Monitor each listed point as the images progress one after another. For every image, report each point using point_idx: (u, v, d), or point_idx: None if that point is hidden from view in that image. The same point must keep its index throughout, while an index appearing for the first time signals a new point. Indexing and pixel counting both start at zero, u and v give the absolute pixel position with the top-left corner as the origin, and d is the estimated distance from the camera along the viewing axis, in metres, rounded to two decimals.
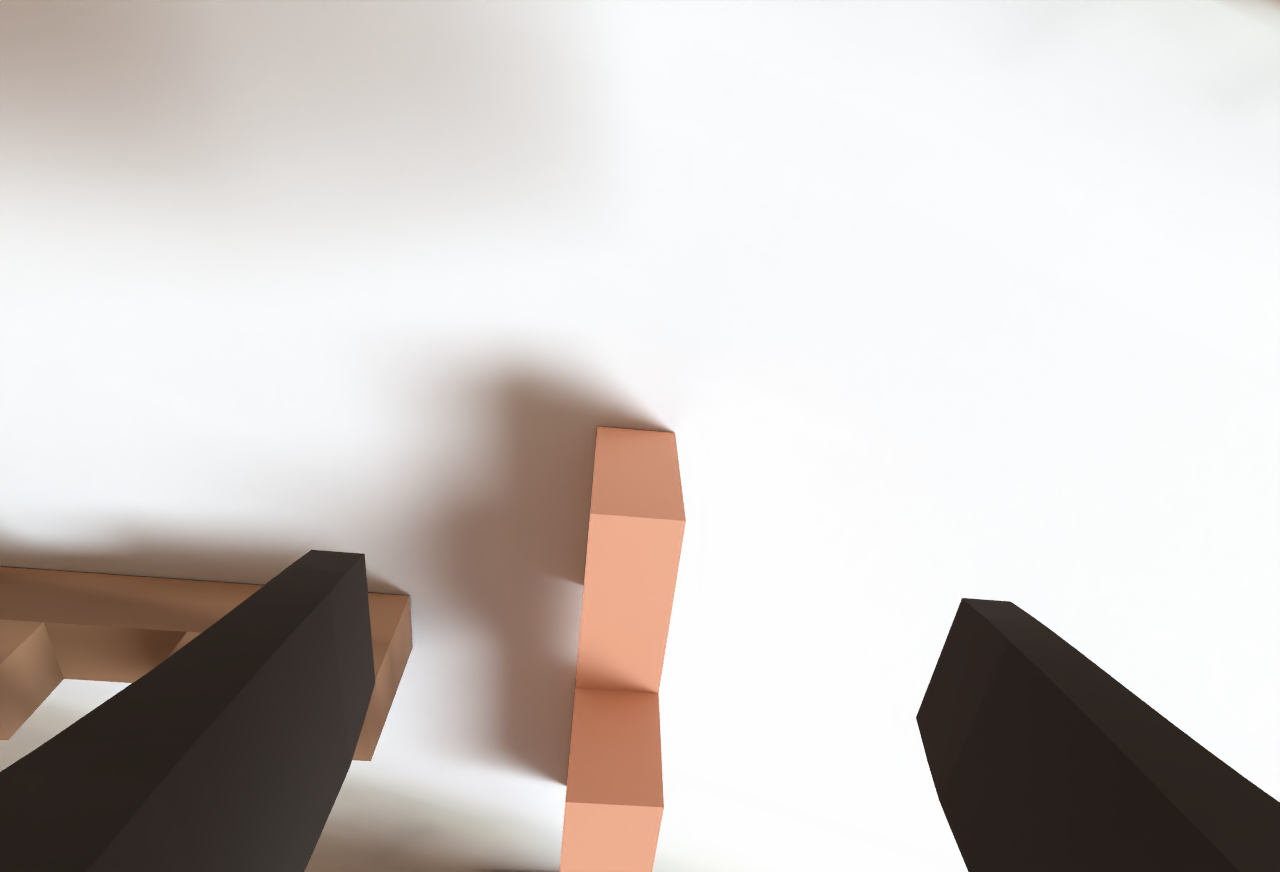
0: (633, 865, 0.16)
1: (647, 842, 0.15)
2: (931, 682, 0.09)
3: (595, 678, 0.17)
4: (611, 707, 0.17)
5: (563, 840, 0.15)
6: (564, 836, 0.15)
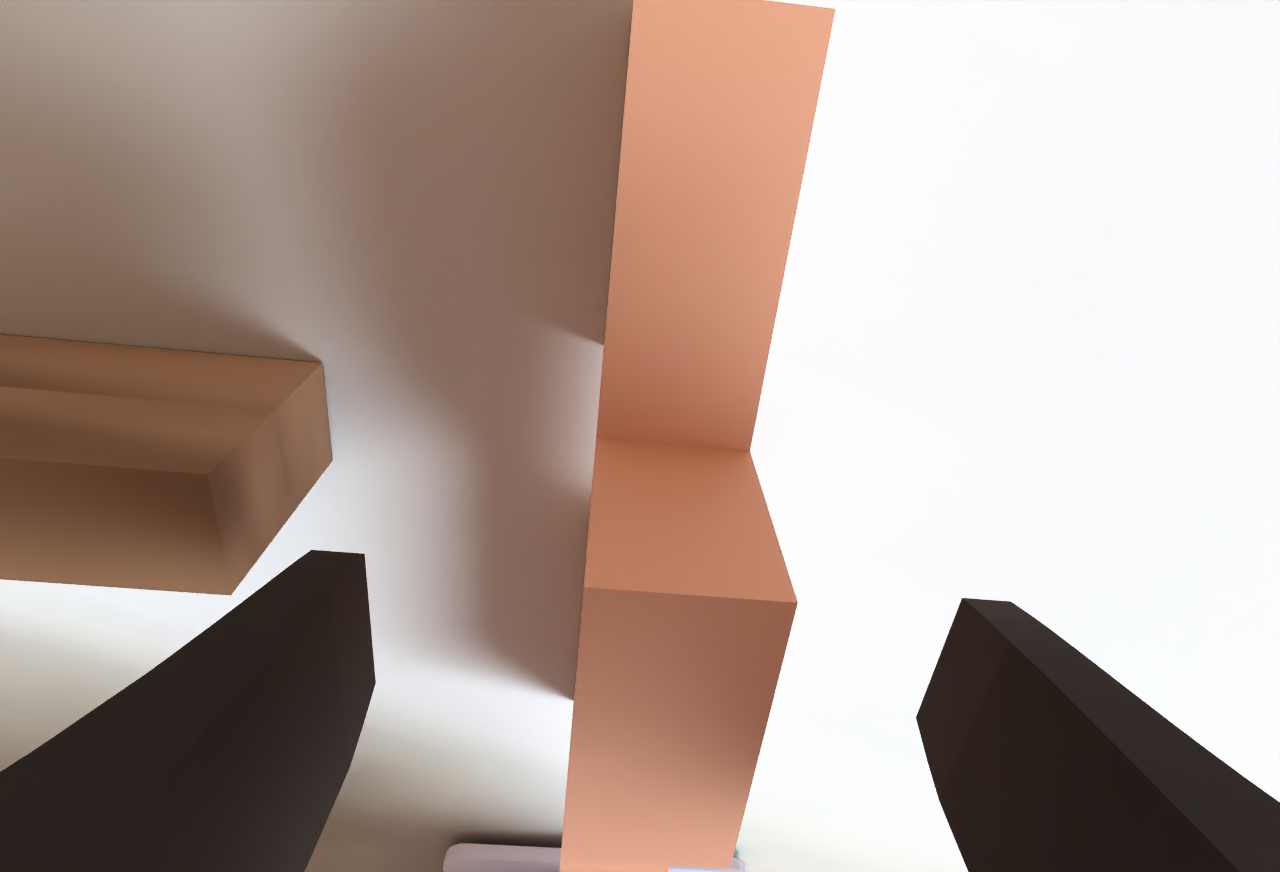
0: (720, 748, 0.08)
1: (754, 691, 0.07)
2: (931, 682, 0.09)
3: (633, 416, 0.09)
4: (666, 463, 0.09)
5: (577, 686, 0.07)
6: (579, 676, 0.07)
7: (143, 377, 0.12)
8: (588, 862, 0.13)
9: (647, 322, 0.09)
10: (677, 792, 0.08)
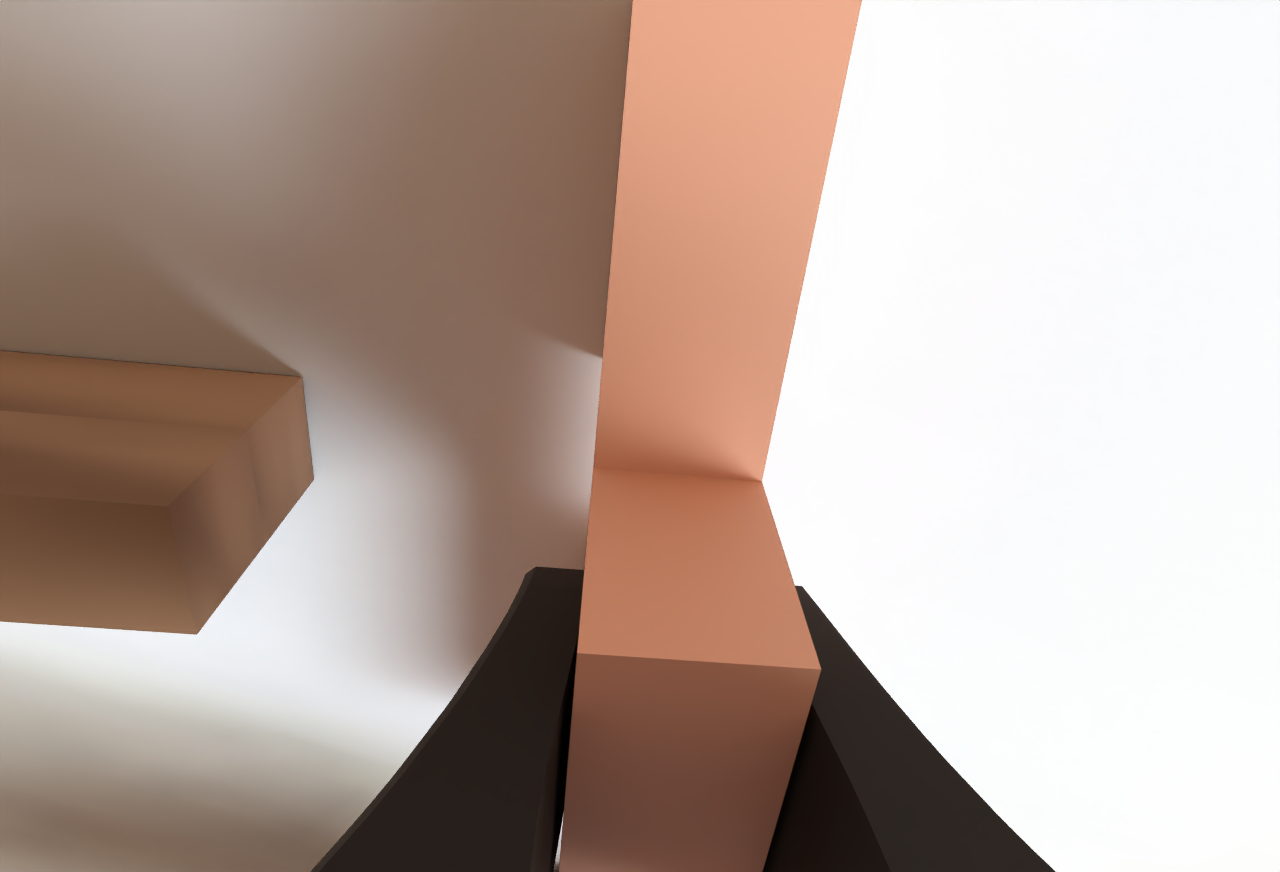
0: (732, 823, 0.07)
1: (770, 764, 0.06)
2: None
3: (634, 443, 0.08)
4: (670, 497, 0.08)
5: (571, 759, 0.06)
6: (573, 748, 0.06)
7: (106, 394, 0.11)
8: None
9: (649, 342, 0.08)
10: (683, 869, 0.07)
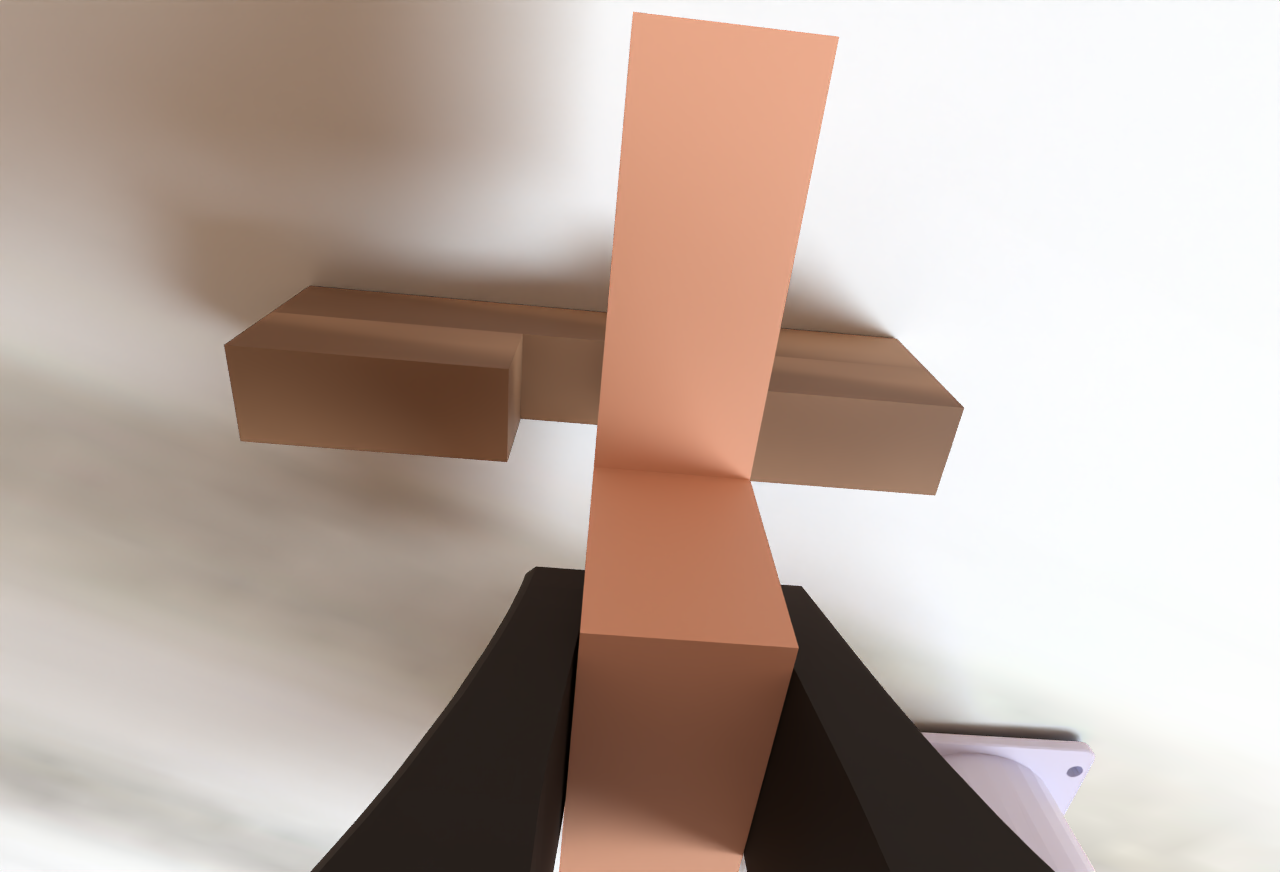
0: (720, 789, 0.08)
1: (754, 734, 0.07)
2: None
3: (631, 444, 0.09)
4: (664, 494, 0.09)
5: (574, 730, 0.07)
6: (576, 719, 0.07)
7: (811, 347, 0.16)
8: None
9: (646, 351, 0.08)
10: (676, 831, 0.08)
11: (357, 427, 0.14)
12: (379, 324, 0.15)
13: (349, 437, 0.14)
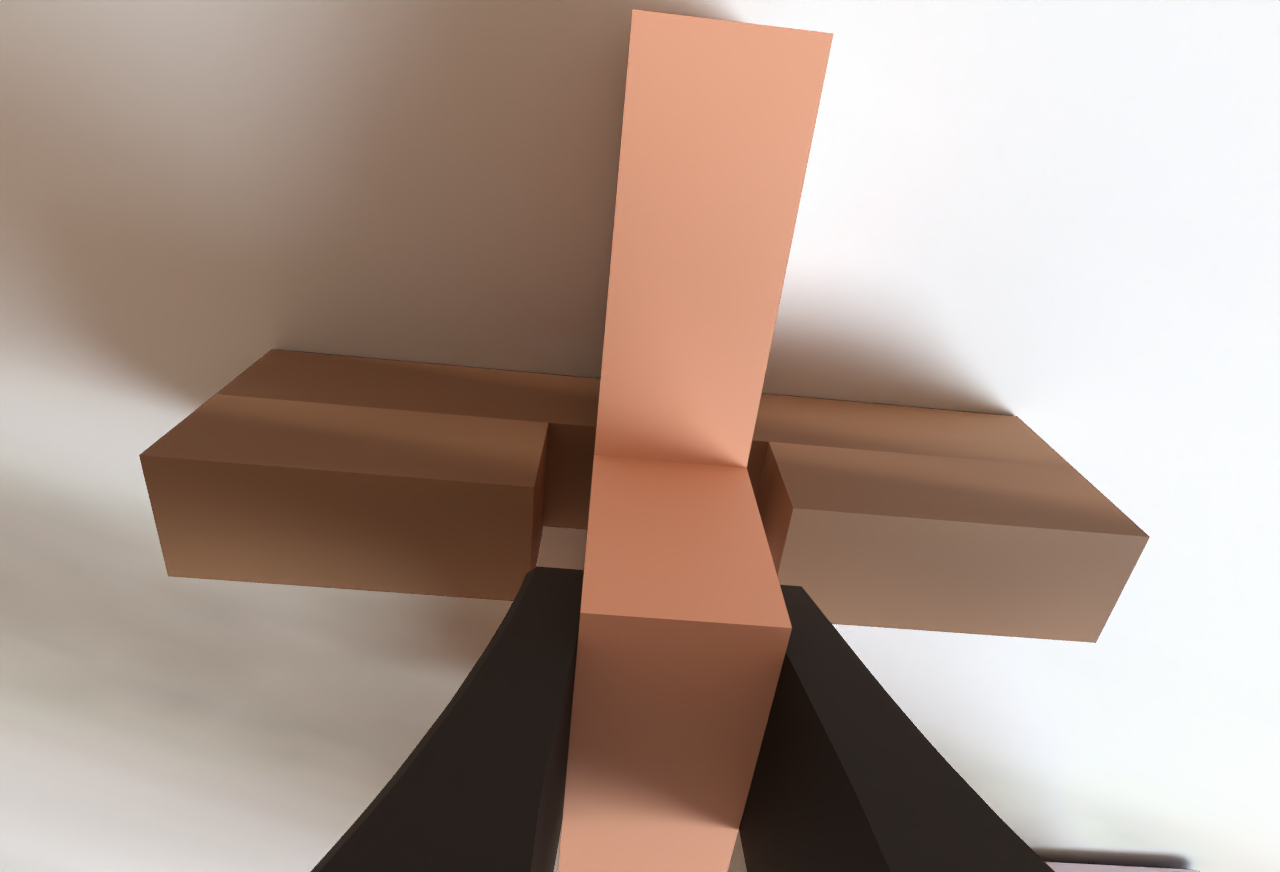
0: (715, 766, 0.08)
1: (749, 712, 0.07)
2: None
3: (631, 432, 0.09)
4: (664, 481, 0.09)
5: (574, 708, 0.07)
6: (576, 697, 0.07)
7: (918, 435, 0.13)
8: None
9: (645, 341, 0.09)
10: (674, 808, 0.08)
11: (326, 559, 0.10)
12: (358, 412, 0.11)
13: (315, 571, 0.10)
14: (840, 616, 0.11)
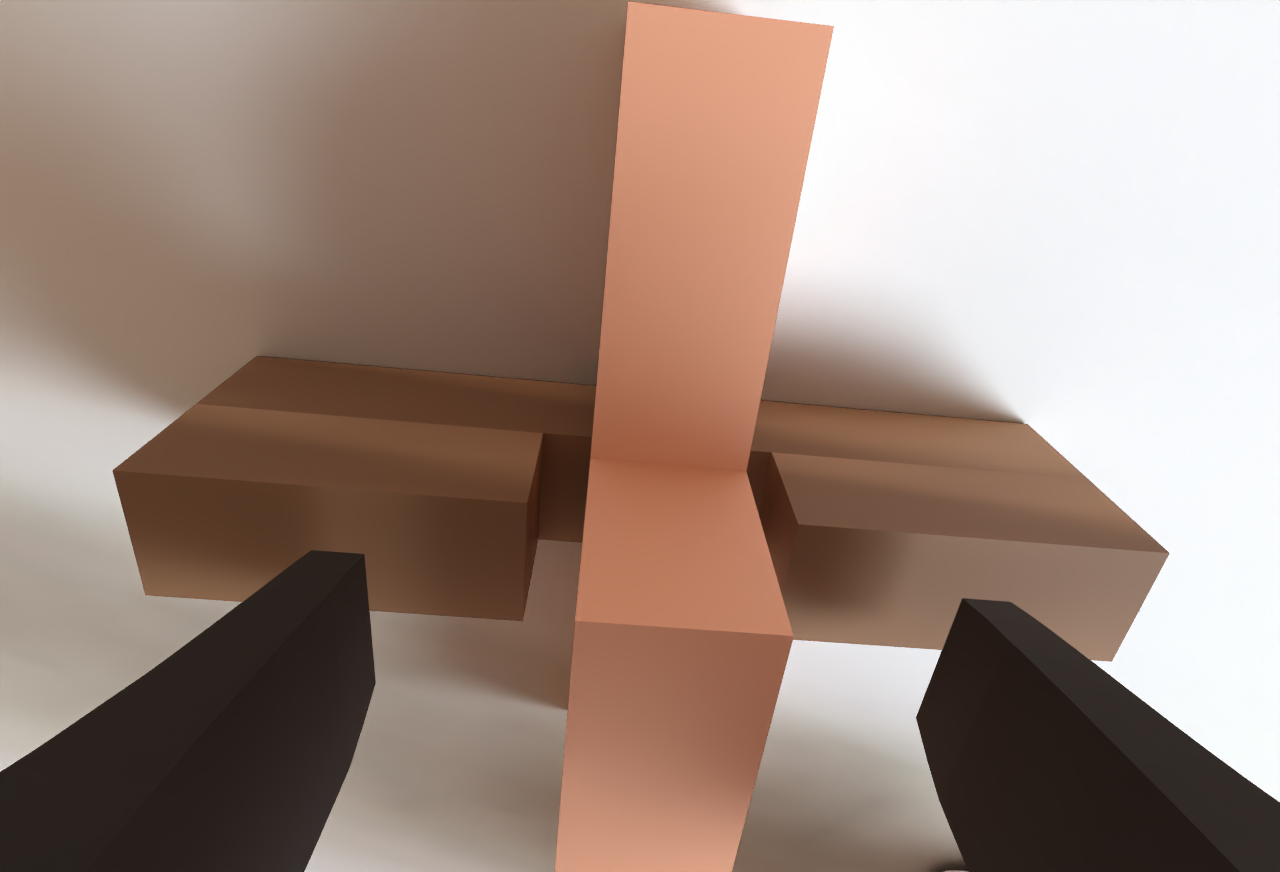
0: (715, 779, 0.08)
1: (749, 723, 0.07)
2: (931, 682, 0.09)
3: (628, 436, 0.09)
4: (661, 484, 0.09)
5: (569, 719, 0.07)
6: (571, 708, 0.07)
7: (926, 444, 0.12)
8: None
9: (642, 342, 0.09)
10: (672, 822, 0.08)
11: None
12: (345, 422, 0.11)
13: None
14: (846, 635, 0.11)
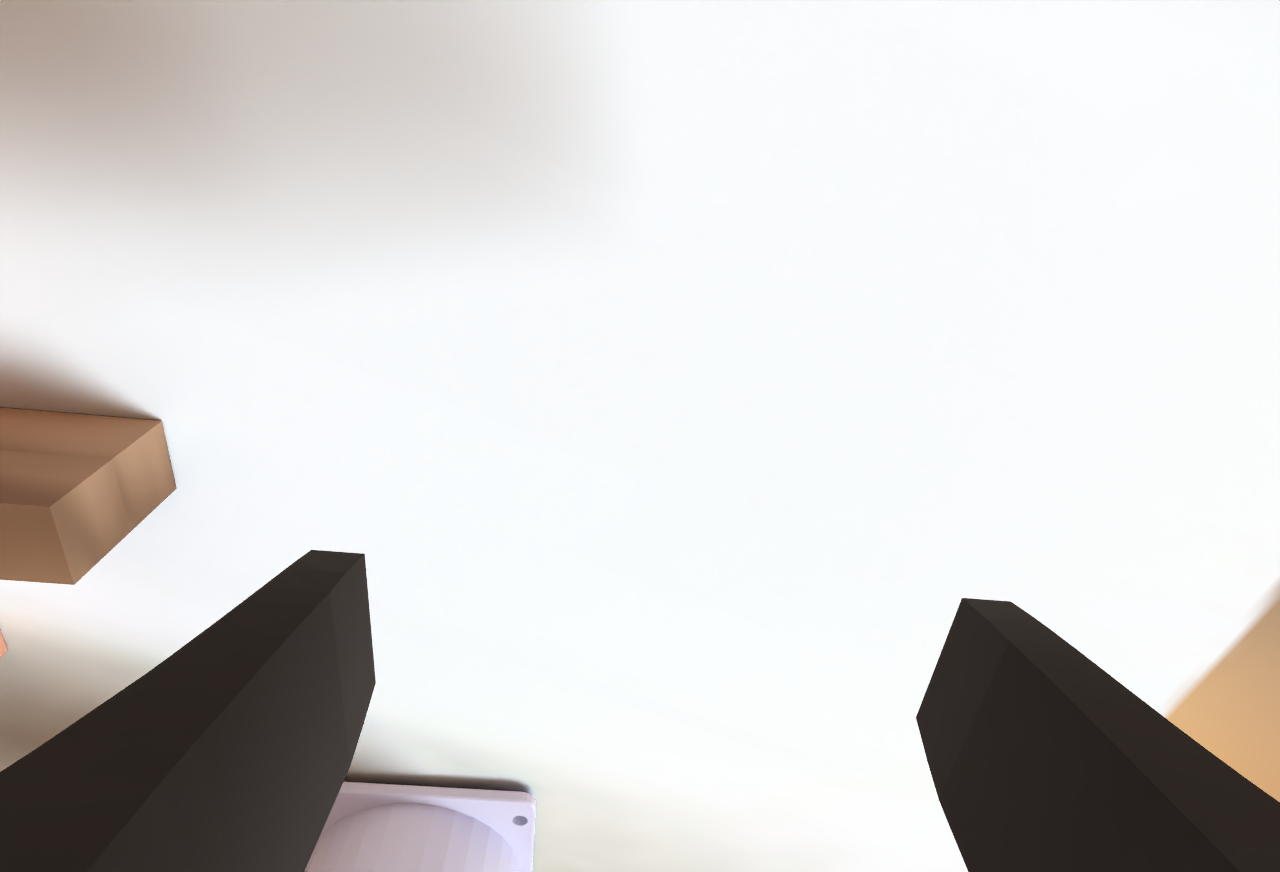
0: None
1: None
2: (931, 682, 0.09)
3: None
4: None
5: None
6: None
7: (26, 435, 0.17)
8: None
9: None
10: None
11: None
12: None
13: None
14: None
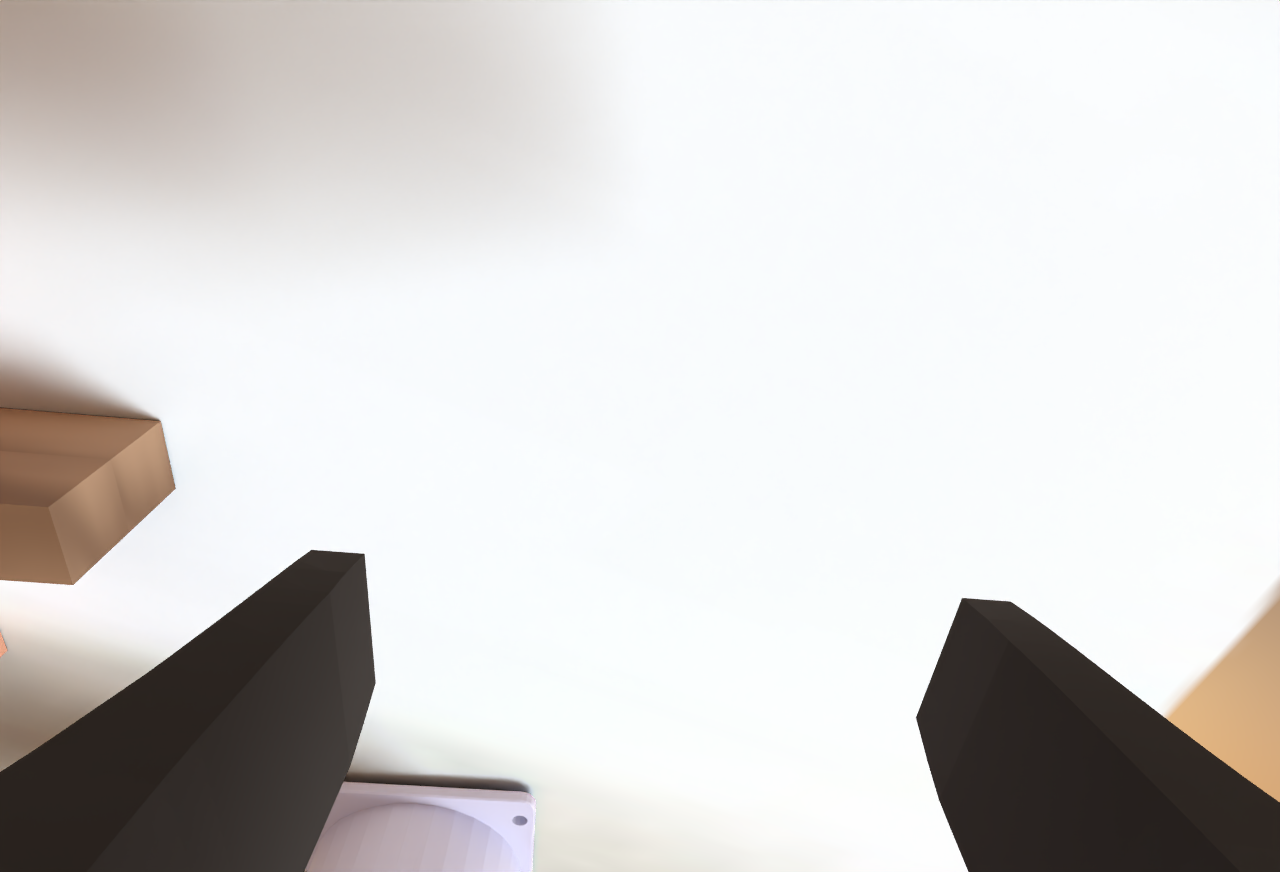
0: None
1: None
2: (931, 682, 0.09)
3: None
4: None
5: None
6: None
7: (25, 435, 0.17)
8: None
9: None
10: None
11: None
12: None
13: None
14: None
